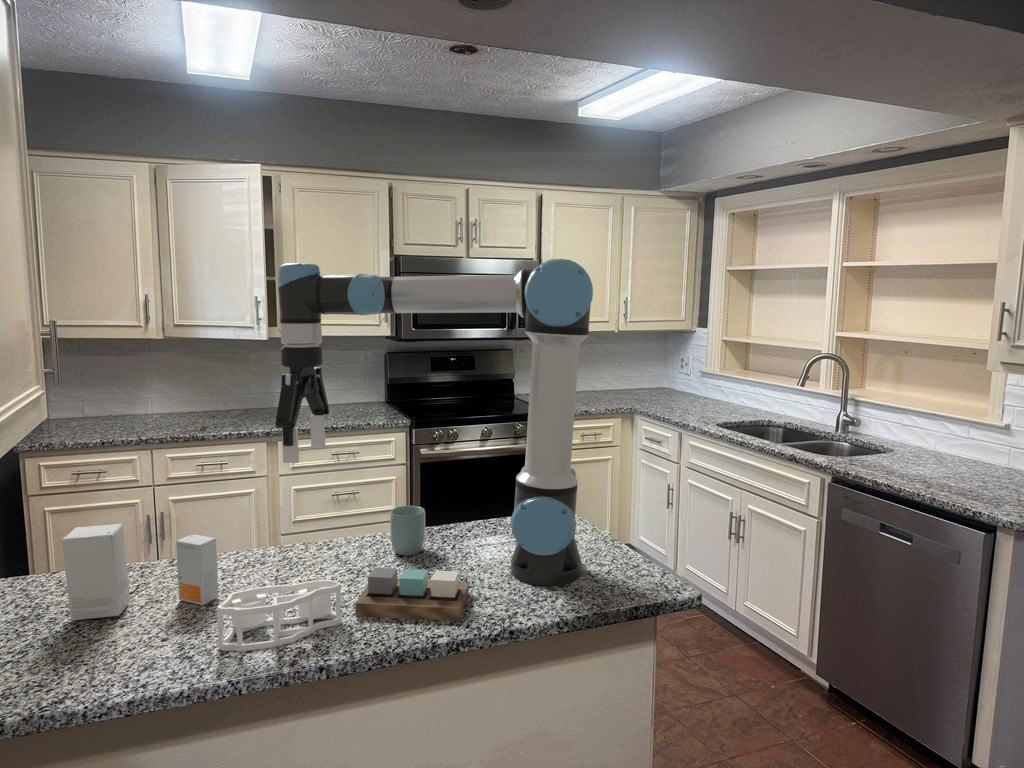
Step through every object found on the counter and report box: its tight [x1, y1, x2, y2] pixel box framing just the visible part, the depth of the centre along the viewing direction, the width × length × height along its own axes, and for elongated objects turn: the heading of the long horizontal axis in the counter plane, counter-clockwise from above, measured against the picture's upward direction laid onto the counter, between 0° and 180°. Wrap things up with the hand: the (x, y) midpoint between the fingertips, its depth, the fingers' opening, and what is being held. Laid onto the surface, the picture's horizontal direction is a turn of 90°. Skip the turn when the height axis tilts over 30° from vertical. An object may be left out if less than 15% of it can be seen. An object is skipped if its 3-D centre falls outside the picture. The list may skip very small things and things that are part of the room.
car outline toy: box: [216, 579, 342, 652], centre depth 116 cm, size 20×11×7 cm, turn 109°
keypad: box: [354, 579, 470, 622], centre depth 127 cm, size 19×11×2 cm, turn 85°
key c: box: [367, 567, 398, 594], centre depth 127 cm, size 4×4×3 cm
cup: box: [389, 505, 426, 557], centre depth 153 cm, size 8×8×10 cm
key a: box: [431, 570, 460, 598], centre depth 126 cm, size 4×4×3 cm
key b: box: [398, 568, 429, 596], centre depth 126 cm, size 4×4×3 cm
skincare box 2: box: [175, 534, 219, 606], centre depth 128 cm, size 6×4×12 cm
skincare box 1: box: [61, 523, 131, 621], centre depth 122 cm, size 8×7×16 cm
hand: (305, 454), depth 131 cm, fingers open, 13 cm apart
